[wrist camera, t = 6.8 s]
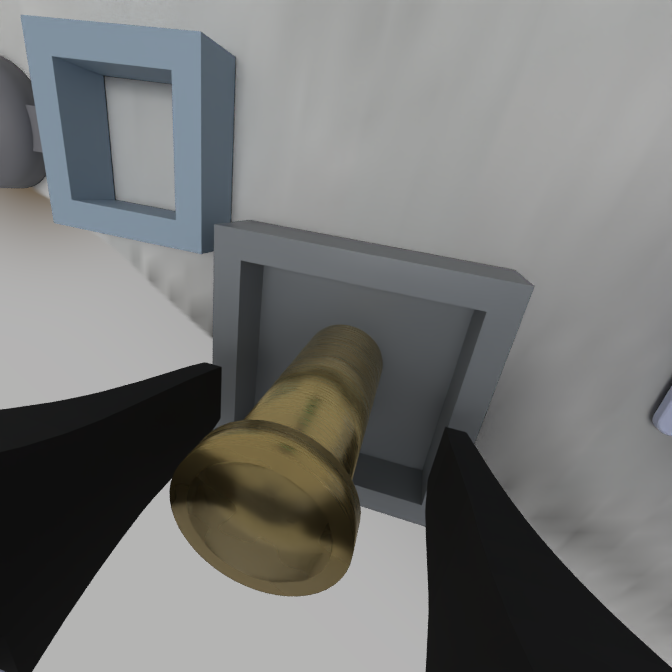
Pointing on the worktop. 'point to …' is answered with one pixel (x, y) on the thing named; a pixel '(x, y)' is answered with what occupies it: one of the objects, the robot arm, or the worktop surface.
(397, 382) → the tray
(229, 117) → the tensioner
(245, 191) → the worktop surface
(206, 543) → the pin
